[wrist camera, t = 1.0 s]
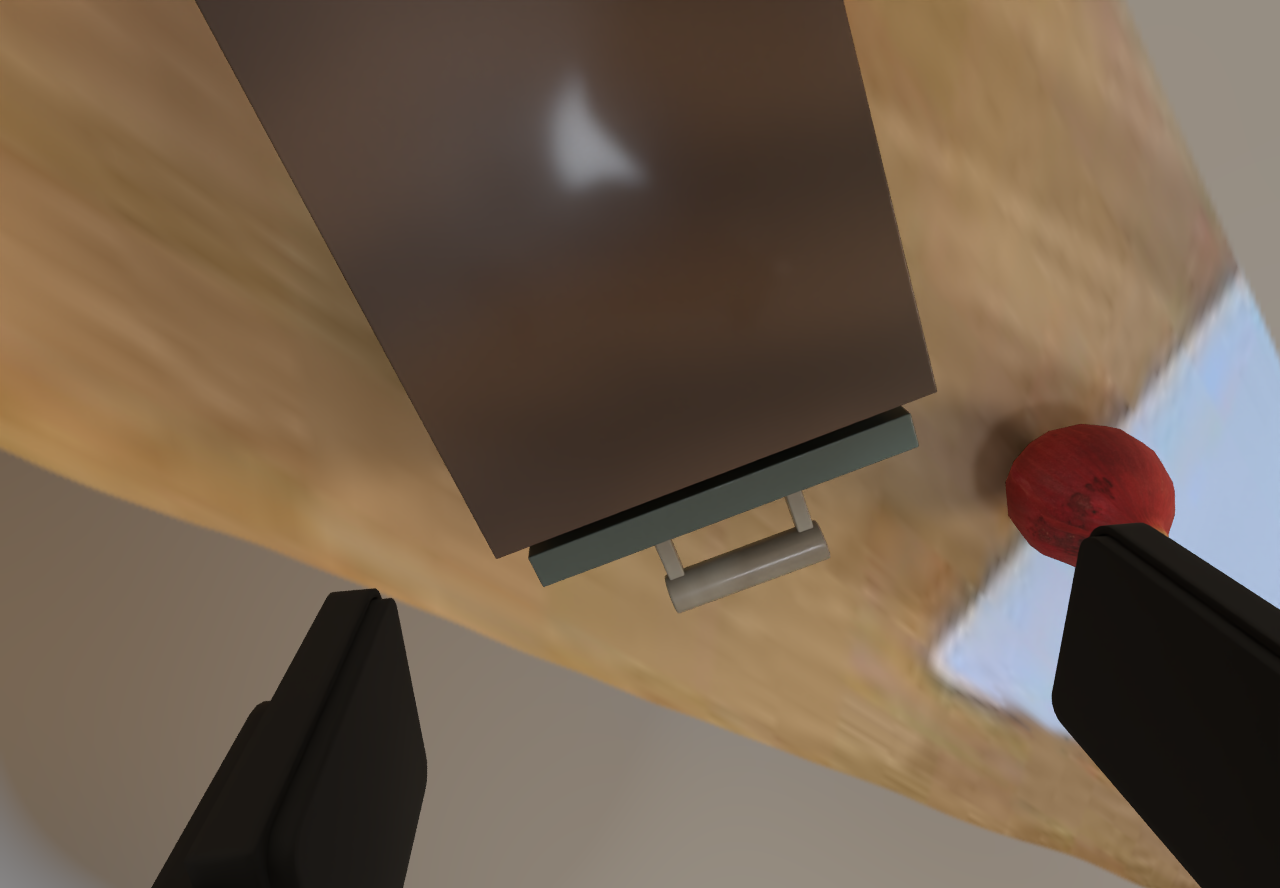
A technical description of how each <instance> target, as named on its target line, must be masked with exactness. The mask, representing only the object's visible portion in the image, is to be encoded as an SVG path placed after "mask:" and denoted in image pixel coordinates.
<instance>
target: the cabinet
mask: <svg viewBox="0 0 1280 888" xmlns="http://www.w3.org/2000/svg"><path fill="white" fill-rule="evenodd" d="M195 1H196V3H197V5H198V7H199V9H200V11H201V13H202V14H203V16H204V18H205V20H206V22H207V24H208V26H209V27H210V29H211V31H212V33H213V35H214V37H215V39H216V40H217V42H218V44H219V46H220V48H221V50H222V51H223V53H224V55H225V57H226V59H227V61H228V63H229V64H230V66H231V68H232V70H233V72H234V74H235V76H236V77H237V79H238V81H239V83H240V85H241V87H242V89H243V90H244V92H245V94H246V96H247V98H248V100H249V102H250V103H251V105H252V107H253V109H254V111H255V113H256V115H257V116H258V118H259V120H260V122H261V124H262V126H263V128H264V129H265V131H266V133H267V135H268V137H269V139H270V140H271V142H272V144H273V146H274V148H275V150H276V152H277V153H278V155H279V157H280V159H281V161H282V163H283V165H284V166H285V168H286V170H287V172H288V174H289V176H290V178H291V179H292V181H293V183H294V185H295V187H296V189H297V191H298V192H299V194H300V196H301V198H302V200H303V202H304V204H305V205H306V207H307V209H308V211H309V213H310V215H311V217H312V218H313V220H314V222H315V224H316V226H317V228H318V229H319V231H320V233H321V235H322V237H323V239H324V241H325V242H326V244H327V246H328V248H329V250H330V252H331V254H332V255H333V257H334V259H335V261H336V263H337V265H338V267H339V268H340V270H341V272H342V274H343V276H344V278H345V280H346V281H347V283H348V285H349V287H350V289H351V291H352V293H353V294H354V296H355V298H356V300H357V302H358V304H359V306H360V307H361V309H362V311H363V313H364V315H365V317H366V318H367V320H368V322H369V324H370V326H371V328H372V330H373V331H374V333H375V335H376V337H377V339H378V341H379V343H380V344H381V346H382V348H383V350H384V352H385V354H386V356H387V357H388V359H389V361H390V363H391V365H392V367H393V369H394V370H395V372H396V374H397V376H398V378H399V380H400V382H401V383H402V385H403V387H404V389H405V391H406V393H407V395H408V396H409V398H410V400H411V402H412V404H413V406H414V407H415V409H416V411H417V413H418V415H419V417H420V419H421V420H422V422H423V424H424V426H425V428H426V430H427V432H428V433H429V435H430V437H431V439H432V441H433V443H434V445H435V446H436V448H437V450H438V452H439V454H440V456H441V458H442V459H443V461H444V463H445V465H446V467H447V469H448V471H449V472H450V474H451V476H452V478H453V480H454V482H455V484H456V485H457V487H458V489H459V491H460V493H461V495H462V496H463V498H464V500H465V502H466V504H467V506H468V508H469V509H470V511H471V513H472V515H473V517H474V519H475V521H476V522H477V524H478V526H479V528H480V530H481V532H482V534H483V535H484V537H485V539H486V541H487V543H488V545H489V547H490V548H491V550H492V552H493V554H494V556H495V558H496V559H498V558H501V557H503V556H506V555H508V554H511V553H514V552H516V551H519V550H522V549H524V548H527V547H530V546H532V545H535V544H537V543H540V542H543V541H545V540H548V539H551V538H553V537H556V536H559V535H561V534H564V533H566V532H569V531H572V530H574V529H577V528H580V527H582V526H585V525H588V524H590V523H593V522H595V521H598V520H601V519H603V518H606V517H609V516H611V515H614V514H616V513H619V512H622V511H624V510H627V509H630V508H632V507H635V506H638V505H640V504H643V503H645V502H648V501H651V500H653V499H656V498H659V497H661V496H664V495H667V494H669V493H672V492H674V491H677V490H680V489H682V488H685V487H688V486H690V485H693V484H696V483H698V482H701V481H703V480H706V479H709V478H711V477H714V476H717V475H719V474H722V473H725V472H727V471H730V470H732V469H735V468H738V467H740V466H743V465H746V464H748V463H751V462H754V461H756V460H759V459H761V458H764V457H767V456H769V455H772V454H775V453H777V452H780V451H783V450H785V449H788V448H790V447H793V446H796V445H798V444H801V443H804V442H806V441H809V440H812V439H814V438H817V437H819V436H822V435H825V434H827V433H830V432H833V431H835V430H838V429H841V428H843V427H846V426H848V425H851V424H854V423H856V422H859V421H862V420H864V419H867V418H870V417H872V416H875V415H877V414H880V413H883V412H885V411H888V410H891V409H893V408H896V407H899V406H901V405H904V404H906V403H909V402H912V401H914V400H917V399H920V398H922V397H925V396H927V395H930V394H933V393H935V392H937V388H936V384H935V380H934V376H933V371H932V367H931V363H930V359H929V355H928V351H927V346H926V342H925V338H924V334H923V330H922V326H921V322H920V317H919V313H918V309H917V305H916V301H915V297H914V292H913V288H912V284H911V280H910V276H909V272H908V267H907V263H906V259H905V255H904V251H903V247H902V243H901V238H900V234H899V230H898V226H897V222H896V218H895V213H894V209H893V205H892V201H891V197H890V193H889V188H888V184H887V180H886V176H885V172H884V168H883V164H882V159H881V155H880V151H879V147H878V143H877V139H876V134H875V130H874V126H873V122H872V118H871V114H870V109H869V105H868V101H867V97H866V93H865V89H864V85H863V80H862V76H861V72H860V68H859V64H858V60H857V55H856V51H855V47H854V43H853V39H852V35H851V30H850V26H849V22H848V18H847V14H846V10H845V5H844V1H843V0H195Z"/></svg>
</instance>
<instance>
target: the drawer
mask: <svg viewBox="0 0 1280 888" xmlns="http://www.w3.org/2000/svg"><path fill="white" fill-rule="evenodd" d="M918 446H919V444H918V440H917V436H916V432H915V429H914V425H913V421H912V417H911V414H910V413H909V412H908V411H907V410H906V409H905V408H903V407H902V406H899V407H896V408H893V409H891V410H888V411H885V412H883V413H880V414H877V415H875V416H872V417H870V418H867V419H864V420H862V421H859V422H856V423H854V424H851V425H848V426H846V427H843V428H841V429H838V430H835V431H833V432H830V433H827V434H825V435H822V436H819V437H817V438H814V439H812V440H809V441H806V442H804V443H801V444H798V445H796V446H793V447H790V448H788V449H785V450H783V451H780V452H777V453H775V454H772V455H769V456H767V457H764V458H761V459H759V460H756V461H754V462H751V463H748V464H746V465H743V466H740V467H738V468H735V469H732V470H730V471H727V472H725V473H722V474H719V475H717V476H714V477H711V478H709V479H706V480H703V481H701V482H698V483H696V484H693V485H690V486H688V487H685V488H682V489H680V490H677V491H674V492H672V493H669V494H667V495H664V496H661V497H659V498H656V499H653V500H651V501H648V502H645V503H643V504H640V505H638V506H635V507H632V508H630V509H627V510H624V511H622V512H619V513H616V514H614V515H611V516H609V517H606V518H603V519H601V520H598V521H595V522H593V523H590V524H588V525H585V526H582V527H580V528H577V529H574V530H572V531H569V532H566V533H564V534H561V535H559V536H556V537H553V538H551V539H548V540H545V541H543V542H540V543H537V544H535V545H532V546H530V549H529V556H528V559H529V561H530V562H531V564H532V566H533V568H534V570H535V572H536V574H537V576H538V578H539V580H540V582H541V584H542V586H543V587H545V586H548V585H550V584H553V583H556V582H558V581H561V580H564V579H566V578H569V577H572V576H574V575H577V574H580V573H582V572H585V571H588V570H590V569H593V568H596V567H598V566H601V565H604V564H606V563H609V562H612V561H615V560H617V559H620V558H623V557H625V556H628V555H631V554H633V553H636V552H639V551H641V550H644V549H647V548H649V547H652V546H655V547H656V549H657V552H658V554H659V556H660V558H661V561H662V563H663V565H664V568H665V570H666V572H667V575H665V582H666V586H667V589H668V592H669V595H670V598H671V600H672V603H673V605H674V607H675V609H676V611H677V612H678V613H682V612H685V611H687V610H690V609H693V608H696V607H698V606H701V605H704V604H706V603H709V602H712V601H715V600H717V599H720V598H723V597H726V596H728V595H731V594H734V593H736V592H739V591H742V590H745V589H747V588H750V587H753V586H756V585H758V584H761V583H764V582H766V581H769V580H772V579H775V578H777V577H780V576H783V575H786V574H788V573H791V572H794V571H796V570H799V569H802V568H805V567H807V566H810V565H813V564H816V563H818V562H821V561H824V560H826V559H829V558H830V552H829V549H828V546H827V543H826V540H825V538H824V535H823V533H822V531H821V529H820V527H819V525H818V523H817V522H816V521H815V520H813V521H812V520H811V517H810V514H809V511H808V508H807V505H806V502H805V499H804V496H803V493H802V490H804V489H807V488H809V487H812V486H815V485H817V484H820V483H823V482H825V481H828V480H831V479H833V478H836V477H839V476H841V475H844V474H847V473H849V472H852V471H855V470H857V469H860V468H863V467H865V466H868V465H871V464H873V463H876V462H879V461H881V460H884V459H887V458H889V457H892V456H895V455H897V454H900V453H903V452H905V451H908V450H911V449H913V448H916V447H918ZM783 497H785V500H786V503H787V505H788V508H789V511H790V514H791V517H792V520H793V523H794V525H795V527H794V528H791V529H788V530H786V531H783V532H780V533H778V534H775V535H772V536H770V537H767V538H764V539H762V540H759V541H756V542H753V543H751V544H748V545H745V546H743V547H740V548H737V549H735V550H732V551H729V552H727V553H724V554H721V555H718V556H716V557H713V558H710V559H708V560H705V561H702V562H700V563H697V564H694V565H691V566H689V567H686V568H683V565H682V563H681V561H680V558H679V556H678V554H677V551H676V549H675V546H674V544H673V542H672V539H673V538H676V537H679V536H681V535H684V534H687V533H689V532H692V531H695V530H697V529H700V528H703V527H705V526H708V525H711V524H713V523H716V522H719V521H721V520H724V519H727V518H729V517H732V516H735V515H737V514H740V513H743V512H745V511H748V510H751V509H753V508H756V507H759V506H761V505H764V504H767V503H769V502H772V501H775V500H777V499H780V498H783Z"/></svg>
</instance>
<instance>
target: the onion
mask: <svg viewBox="0 0 1280 888" xmlns="http://www.w3.org/2000/svg"><path fill="white" fill-rule="evenodd" d="M1005 484H1006V496H1007V506H1008V516H1009V517H1010V519H1011V520H1012V521H1013V523H1014V524H1015V526H1016V527H1017V528H1018V530H1019V531H1020V532H1021V534H1022V535H1023V536H1024V538H1025V539H1026V540H1027V542H1028V543H1029V544H1030V545H1031V546H1032V547H1033V548H1035V549H1036V550H1037V551H1039V552H1040V553H1042V554H1043V555H1046V556H1048V557H1051V558H1054V559H1056V560H1059V561H1062V562H1064V563H1067V564H1069V565H1072V566H1074V567H1076V562H1077V557H1078V551H1079V547H1080V544H1081V542H1082V541H1083V540H1084V539H1086V538H1088V537H1089V536H1090V534H1091V532H1092V531H1093V530H1094V529H1095V528H1097V527H1099V526H1103V525H1115V524H1126V523H1145V524H1148V525H1150V526H1152V527H1153V528H1155V529H1156V530H1158V531H1159V532H1161V533H1162V534H1164V535H1166V536H1167V537H1169V535H1168V534H1169V531H1170V528H1171V525H1172V522H1173V519H1174V516H1175V490H1174V486H1173V482H1172V480H1171V478H1170V477H1169V475H1168V473H1167V471H1166V470H1165V468H1164V466H1163V464H1162V463H1161V461H1160V459H1159V458H1158V456H1157V455H1156V453H1155V452H1154V451H1153V450H1152V449H1150V448H1149V447H1148V446H1146V445H1145V444H1143V443H1142V442H1140V441H1139V440H1137V439H1135V438H1134V437H1132V436H1130V435H1129V434H1127V433H1126V432H1124V431H1122V430H1121V429H1117V428H1112V427H1107V426H1098V425H1087V424H1078V425H1074V426H1069V427H1065V428H1060V429H1056V430H1052V431H1048V432H1047V433H1045V434H1043V435H1042V436H1040V437H1039V438H1037V439H1035V440H1034V441H1032V442H1031V443H1029V444H1028V446H1027V447H1026V448H1025V449H1024V450H1023V451H1022V452H1021V454H1020V455H1019V456H1018V457H1017V458H1016V459H1015V460H1014V462H1013V465H1012V467H1011V470H1010V472H1009V475H1008V477H1007V480H1006V482H1005Z"/></svg>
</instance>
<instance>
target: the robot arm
mask: <svg viewBox="0 0 1280 888" xmlns="http://www.w3.org/2000/svg"><path fill="white" fill-rule="evenodd" d="M1052 705H1053V708H1054V712H1055V714H1056V716H1057V718H1058V720H1059V721H1060V723H1061V724H1062V725H1063V726H1064V727H1065V729H1066V730H1067V731H1068V732H1069V733H1070V735H1071V736H1072V737H1073V738H1074V739H1075V740H1076V742H1077V743H1078V744H1079V745H1080V746H1081V747H1082V749H1083V750H1084V751H1085V752H1086V753H1087V754H1088V756H1089V757H1090V758H1091V759H1092V760H1093V761H1094V763H1095V764H1096V765H1097V766H1098V767H1099V768H1100V770H1101V771H1102V772H1103V773H1104V774H1105V775H1106V777H1107V778H1108V779H1109V780H1110V781H1111V783H1112V784H1113V785H1114V786H1115V787H1116V788H1117V790H1118V791H1119V792H1120V793H1121V794H1122V795H1123V797H1124V798H1125V799H1126V800H1127V801H1128V802H1129V804H1130V805H1131V806H1132V807H1133V808H1134V809H1135V811H1136V812H1137V813H1138V814H1139V815H1140V816H1141V818H1142V819H1143V820H1144V821H1145V822H1146V823H1147V825H1148V826H1149V827H1150V828H1151V829H1152V831H1153V832H1154V833H1155V834H1156V835H1157V836H1158V838H1159V839H1160V840H1161V841H1162V842H1163V843H1164V845H1165V846H1166V847H1167V848H1168V849H1169V850H1170V852H1171V853H1172V854H1173V855H1174V856H1175V857H1176V859H1177V860H1178V861H1179V862H1180V863H1181V864H1182V866H1183V867H1184V868H1185V869H1186V870H1187V871H1188V873H1189V874H1190V875H1191V876H1192V877H1193V879H1194V880H1195V881H1196V882H1197V883H1198V884H1199V886H1200V887H1201V888H1280V609H1278V608H1276V607H1275V606H1273V605H1272V604H1270V603H1269V602H1267V601H1266V600H1264V599H1263V598H1261V597H1259V596H1258V595H1256V594H1255V593H1253V592H1252V591H1250V590H1249V589H1247V588H1246V587H1244V586H1243V585H1241V584H1239V583H1238V582H1236V581H1235V580H1233V579H1232V578H1230V577H1229V576H1227V575H1226V574H1224V573H1223V572H1221V571H1219V570H1218V569H1216V568H1215V567H1213V566H1212V565H1210V564H1209V563H1207V562H1206V561H1204V560H1202V559H1201V558H1199V557H1198V556H1196V555H1195V554H1193V553H1192V552H1190V551H1189V550H1187V549H1186V548H1184V547H1182V546H1181V545H1179V544H1178V543H1176V542H1175V541H1173V540H1172V539H1170V538H1169V537H1167V536H1166V535H1164V534H1162V533H1161V532H1159V531H1158V530H1156V529H1155V528H1153V527H1152V526H1150V525H1148V524H1145V523H1126V524H1115V525H1103V526H1099V527H1097V528H1095V529H1094V530H1093V531H1092V532H1091V534H1090V536H1089V537H1088V538H1086V539H1084V540H1083V541H1082V542H1081V544H1080V547H1079V551H1078V557H1077V562H1076V567H1075V573H1074V578H1073V583H1072V589H1071V594H1070V599H1069V605H1068V610H1067V615H1066V621H1065V626H1064V631H1063V637H1062V642H1061V647H1060V653H1059V658H1058V663H1057V669H1056V674H1055V680H1054V685H1053V690H1052ZM426 782H427V759H426V753H425V748H424V743H423V738H422V733H421V728H420V722H419V718H418V712H417V707H416V702H415V697H414V692H413V687H412V681H411V676H410V671H409V666H408V661H407V656H406V651H405V646H404V641H403V636H402V630H401V625H400V620H399V616H398V610H397V606H396V603H395V601H394V599H392V598H388V599H382V598H381V595H380V593H379V591H378V590H377V589H376V588H375V589H363V590H352V591H340V592H332V593H330V594H329V595H328V597H327V598H326V600H325V602H324V604H323V605H322V607H321V609H320V611H319V613H318V615H317V616H316V618H315V620H314V622H313V624H312V626H311V628H310V630H309V631H308V633H307V635H306V637H305V639H304V640H303V642H302V644H301V646H300V648H299V650H298V651H297V653H296V655H295V657H294V659H293V661H292V663H291V664H290V666H289V668H288V670H287V672H286V673H285V675H284V677H283V679H282V681H281V683H280V684H279V686H278V688H277V690H276V692H275V694H274V696H273V697H272V700H271V701H264V702H262V703H260V704H259V705H257V706H256V707H255V708H254V710H253V711H252V712H251V714H250V715H249V717H248V718H247V720H246V722H245V724H244V726H243V727H242V729H241V731H240V733H239V734H238V736H237V738H236V740H235V741H234V743H233V745H232V747H231V748H230V750H229V752H228V754H227V755H226V757H225V759H224V761H223V762H222V764H221V766H220V768H219V770H218V772H217V773H216V775H215V777H214V778H213V780H212V782H211V784H210V785H209V787H208V789H207V791H206V792H205V794H204V796H203V798H202V799H201V801H200V803H199V805H198V807H197V808H196V810H195V812H194V814H193V815H192V817H191V819H190V821H189V822H188V824H187V826H186V828H185V829H184V831H183V833H182V835H181V836H180V838H179V840H178V842H177V843H176V845H175V847H174V849H173V851H172V852H171V854H170V856H169V858H168V860H167V861H166V863H165V865H164V867H163V868H162V870H161V872H160V873H159V875H158V877H157V879H156V880H155V882H154V884H153V886H152V887H151V888H403V885H404V881H405V877H406V873H407V868H408V863H409V859H410V855H411V850H412V846H413V842H414V837H415V833H416V828H417V824H418V820H419V815H420V811H421V806H422V802H423V797H424V793H425V789H426Z"/></svg>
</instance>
